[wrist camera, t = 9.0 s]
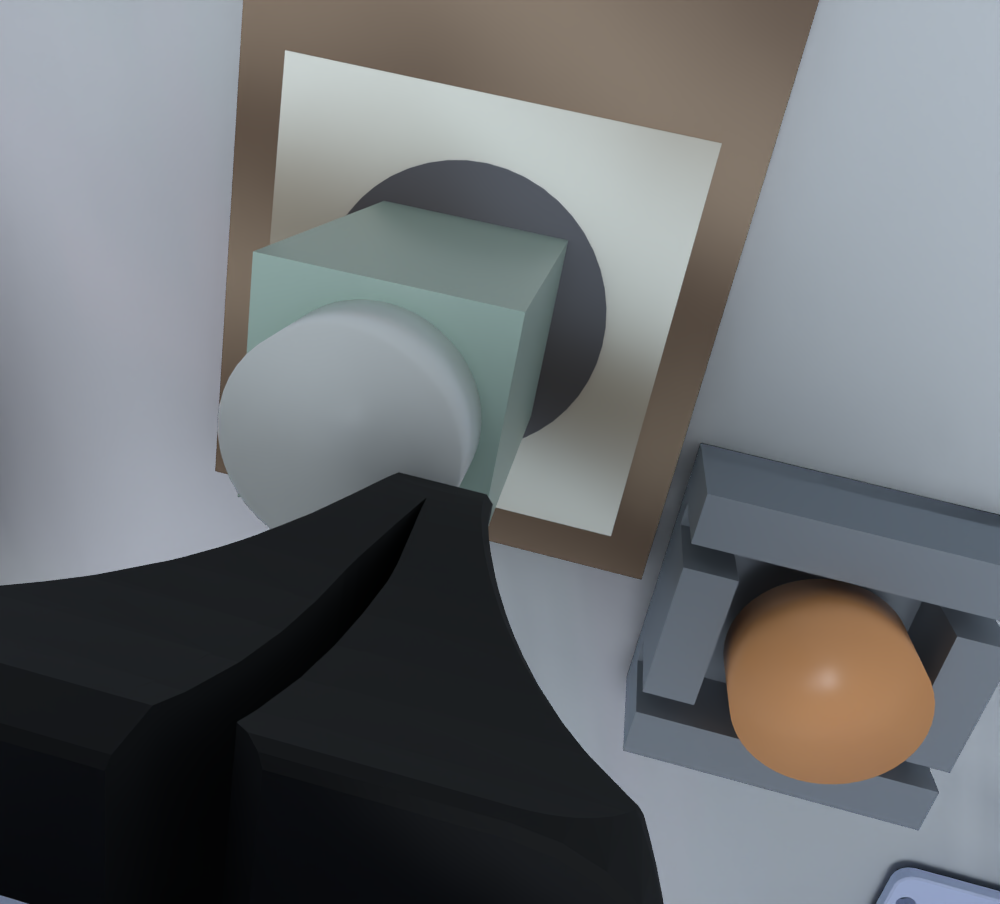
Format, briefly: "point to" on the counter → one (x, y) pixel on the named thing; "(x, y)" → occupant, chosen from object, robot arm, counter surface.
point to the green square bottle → (387, 357)
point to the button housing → (799, 556)
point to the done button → (826, 683)
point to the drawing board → (538, 200)
